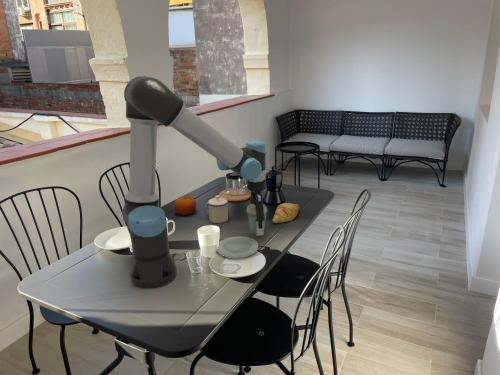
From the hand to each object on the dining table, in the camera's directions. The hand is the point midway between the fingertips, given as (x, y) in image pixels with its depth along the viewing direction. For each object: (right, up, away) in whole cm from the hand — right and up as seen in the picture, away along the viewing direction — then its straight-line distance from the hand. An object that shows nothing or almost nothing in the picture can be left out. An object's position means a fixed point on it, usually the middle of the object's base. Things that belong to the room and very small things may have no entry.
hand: (257, 227), depth 154 cm
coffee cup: (0, -2, +1) cm, 2 cm away
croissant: (+14, +3, +16) cm, 21 cm away
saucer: (-8, -7, -13) cm, 17 cm away
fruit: (-34, +4, +23) cm, 41 cm away
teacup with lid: (-18, +2, +15) cm, 24 cm away
